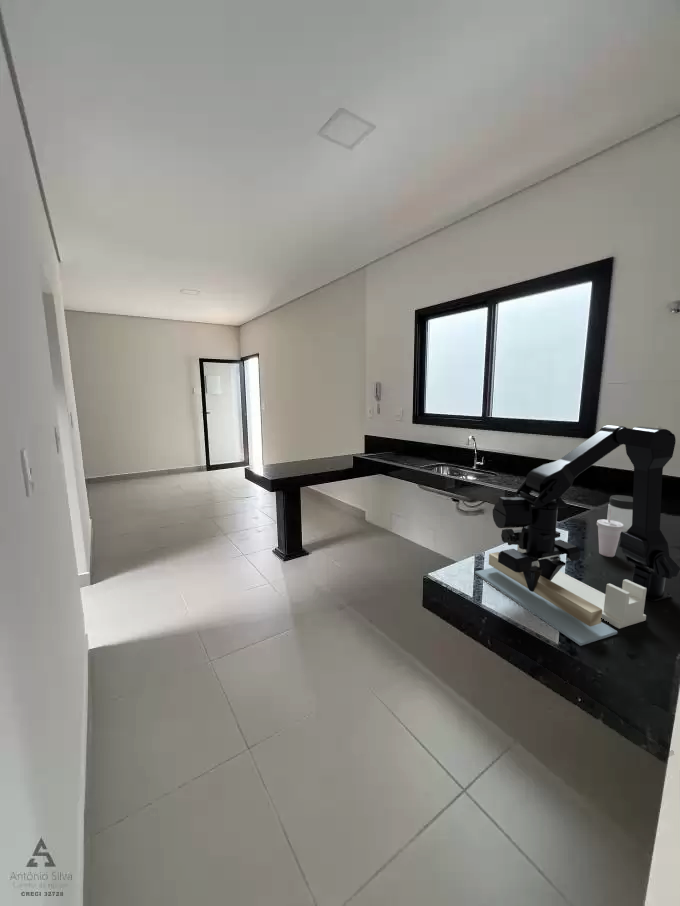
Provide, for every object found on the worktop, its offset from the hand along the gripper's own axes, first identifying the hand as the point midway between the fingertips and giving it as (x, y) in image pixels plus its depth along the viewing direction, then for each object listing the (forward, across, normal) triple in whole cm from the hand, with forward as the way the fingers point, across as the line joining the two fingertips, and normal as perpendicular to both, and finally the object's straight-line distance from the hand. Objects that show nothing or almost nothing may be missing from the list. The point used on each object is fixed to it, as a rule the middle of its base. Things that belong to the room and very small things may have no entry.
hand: (536, 589), depth 85 cm
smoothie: (+3, -39, -11) cm, 41 cm away
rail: (0, 0, 0) cm, 0 cm away
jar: (+3, -60, -21) cm, 64 cm away
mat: (+2, 0, 0) cm, 3 cm away
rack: (+2, -11, 0) cm, 11 cm away
